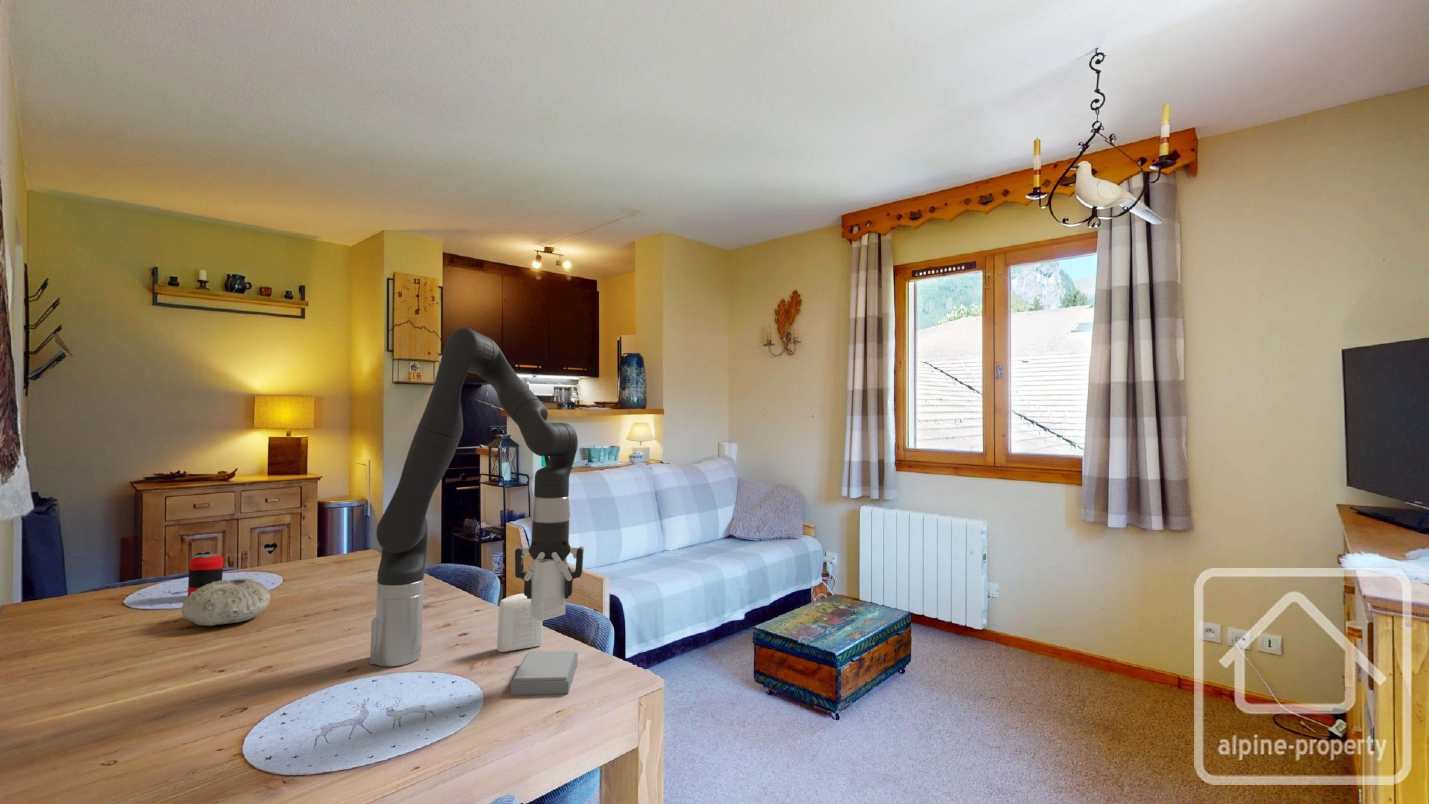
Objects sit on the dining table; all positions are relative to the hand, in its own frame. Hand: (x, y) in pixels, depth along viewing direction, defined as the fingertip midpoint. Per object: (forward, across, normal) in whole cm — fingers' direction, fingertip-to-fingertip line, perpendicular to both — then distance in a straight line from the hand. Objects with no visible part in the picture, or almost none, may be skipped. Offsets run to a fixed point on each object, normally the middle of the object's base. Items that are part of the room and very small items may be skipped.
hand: (548, 597), depth 127 cm
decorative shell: (+17, -87, +40) cm, 97 cm away
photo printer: (+17, -9, +18) cm, 26 cm away
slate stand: (+16, 0, 0) cm, 16 cm away
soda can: (+17, -107, +62) cm, 125 cm away
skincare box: (+4, 0, 0) cm, 4 cm away
